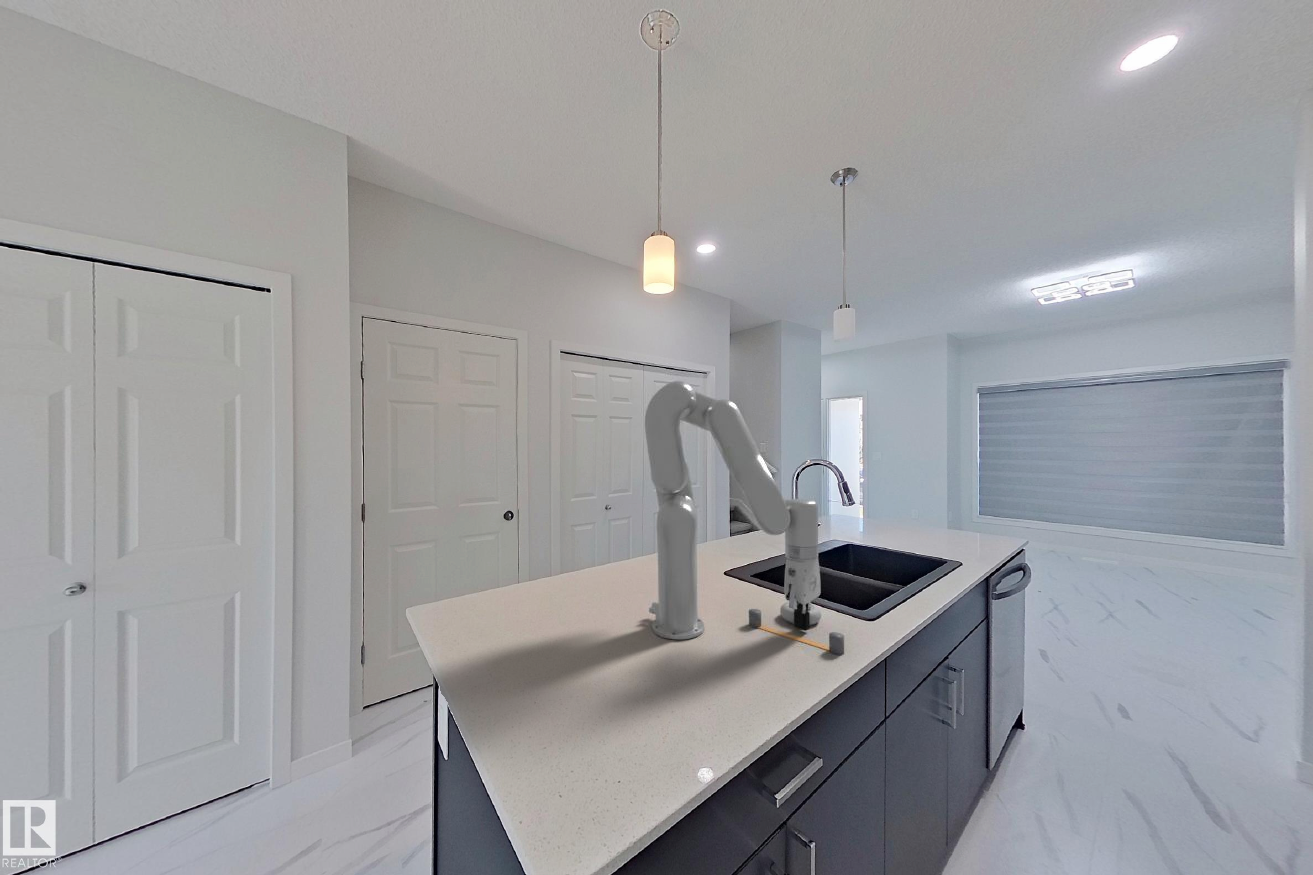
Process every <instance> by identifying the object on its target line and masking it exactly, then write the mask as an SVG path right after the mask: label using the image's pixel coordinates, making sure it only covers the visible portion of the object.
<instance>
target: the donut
mask: <svg viewBox="0 0 1313 875" xmlns="http://www.w3.org/2000/svg"><path fill="white" fill-rule="evenodd" d="M779 609H780V610H779V611H780V612H779V613H780V615H781V617H782V618H783V619H784V620H785V621H787V622H788V623H791V624H793V625H794V611H793V609H791V608H789V601H786V602H784V603H783V604H782V605H781V606H780V608H779ZM808 612H810V626H812V625H815V624H817V623H818V622H819V621H820V620H821V618H822V612H821V609H820V608H819V607H818V606H817V605H815V604H813V603H811V608H810V611H808Z"/></svg>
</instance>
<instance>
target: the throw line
mask: <svg viewBox="0 0 1313 875" xmlns="http://www.w3.org/2000/svg"><path fill="white" fill-rule="evenodd" d="M748 626H749V627H750V628H752V629H760V630H764V631H767V632H770V633H773V634H775V635H779V636H781V637H785V638H788V639H792V640H794V641H798V642H800V643H804V644H807V645H811V646H813V647H816V648H819V649H822V650H825V651H829V653H832V654H833V655H836V656H841V655H842V656H843V655H844V654H845V636H844V634H843V633H841V632H837V631H836V632H835V631H832V632H829V633H828V637H829V638H828V643H829V644H828V645H824V644H822V643H818V642H816V641H812V640H809V639H806V638H803V637H800V636H797V635H793V634H790V633H787V632H783V631H782V630H781V631H780V630H777V629H774V628H770V627H768V626H765V625H762V610H760V609H758V608H751V609H748Z"/></svg>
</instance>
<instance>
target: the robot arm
mask: <svg viewBox="0 0 1313 875" xmlns="http://www.w3.org/2000/svg"><path fill="white" fill-rule="evenodd" d="M681 421H682V422H685V423H687V424H689V425H693V427H694V426H695V427H697V428H700V429H703V430H705V431H708V432H709V433H710V435H711V436H712V438H713V440H714V442H715V444H716V446H717V449H718V452H719V453H720V455H721V457H722V459H723V461H724V464H725V467H726V468H727V470H728V471H729V473H730V475H731V477H732V478H733V479H734V480H735V482H736V483H737V485H738V486H739V488H740V490H741V492H742V494H743V495H744V497H745V499H746V501H747V503H748V506H749V507H750V509H751V510H750V514H751V517H752V520H753V521H754V522H755V524H756V525H757V526H758V527H759V529H760V530H761V531H762V532H764V533H765V534H767V535H770V536H779V535H781V534H784V546H785V548H784V556H785V558H786V560H785V561H786V562H785V568H784V586H783V588H784V598H785V600H786V601H787V602H789V608H791V609H793V611H794V624H793V626H794V628H796V629H799V630H802V631H804V632H806V631H808V630H809V629H810V627H811V625H810V612H808V611H810V608H811V604H812V601H813V600H815V599H817V598H818V597H819V596H820V595H821V593H822V592H821V591H822V590H821V587H822V586H821V572H820V563H819V561H820V560H819V507H818V503H817V502H816V501H815V500H812V499H808V498H791V499H784V498H783V496H782V493H781V491H780V489H779V487H778V485H777V483H776V482H775V480H774V477H773V476H772V473H771V472H770V470H769V469H768V467H767V464H766V462H765V460H764V458H763V456H762V454H761V453H760V451H759V448H758V447H757V444H756V442H755V440H754V438H753V436H752V433H751V431H750V429H749V428H748V425H747V423H746V421H745V419H744V417H743V415H742V413H741V411H740V408H738V405H737V404H735V403H734V401H731V400H729V399H715V398H712V397H710V396H707V395H705V394H702V393H701V392H698V391H695V390H694V388H693V387H692V386H691V385H690V384H689V383H687V382H685V381H683V380H676V381H671V382H669V383H667V384H665V385H663V386H662V387H661V388H659V389H658V390H657V392H656V393H655V394H654V395H653V396H652V397H651V399H650V401H649V402H648V405H647V408H646V410H645V415H644V430H645V438H646V445H647V454H648V461H649V468H650V478H651V482H652V484H653V486H654V487H655V492H656V499H657V503H658V508H659V509H658V511H657V516H656V540H657V541H656V542H657V577H658V578H657V579H658V580H657V588H658V589H657V590H658V592H657V593H658V598H657V599H658V600H657V601H658V602H656V601H653V602H652V604H651V607H649V608H648V612H649V613H650V614H652V615H655V619H654V620H653V622H652V626H651V627H652V628H651V629H652V631H653V632H654V633H655V634H656V635H658V636H659V637H661V638H665V639H669V640H688V639H693V638H696V637H699V636H700V635H701V634H703V632H704V631H705V622H704V621H703V620H702V619H701V618H699V615H698V614H699V613H698V610H699V609H698V607H699V606H698V550H697V549H698V546H697V545H698V543H697V541H698V516H697V510H696V505H695V498H694V494H693V488H692V482H691V481H692V480H691V475H690V469H689V466H688V463H687V461H686V459H685V454H684V448H683V442H682V435H681V429H680V427H681V426H680V425H681Z"/></svg>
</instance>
